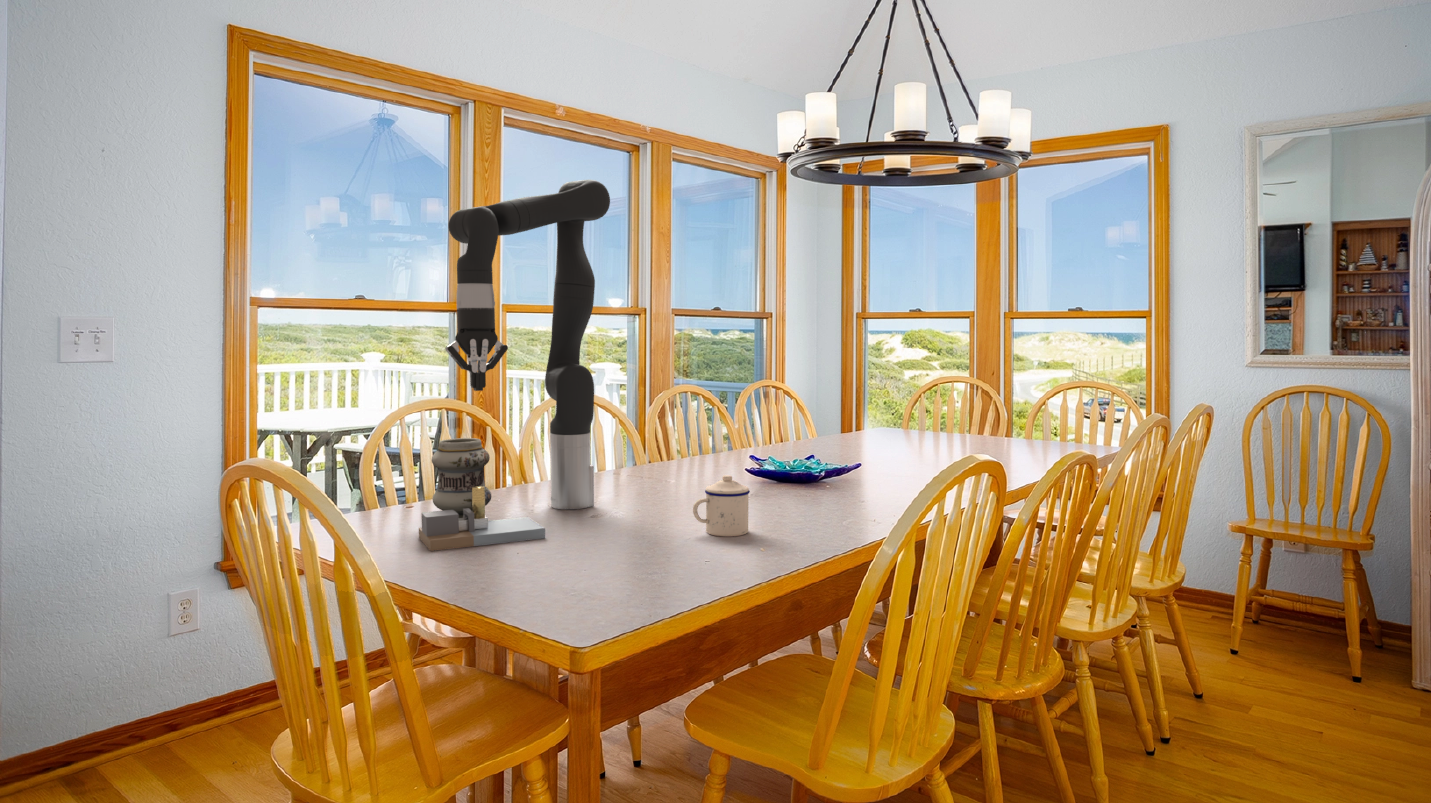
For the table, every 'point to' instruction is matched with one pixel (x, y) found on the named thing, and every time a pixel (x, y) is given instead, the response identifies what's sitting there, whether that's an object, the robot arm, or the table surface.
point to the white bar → (476, 510)
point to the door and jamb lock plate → (474, 530)
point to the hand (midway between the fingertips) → (478, 390)
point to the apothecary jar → (459, 473)
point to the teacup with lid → (725, 508)
